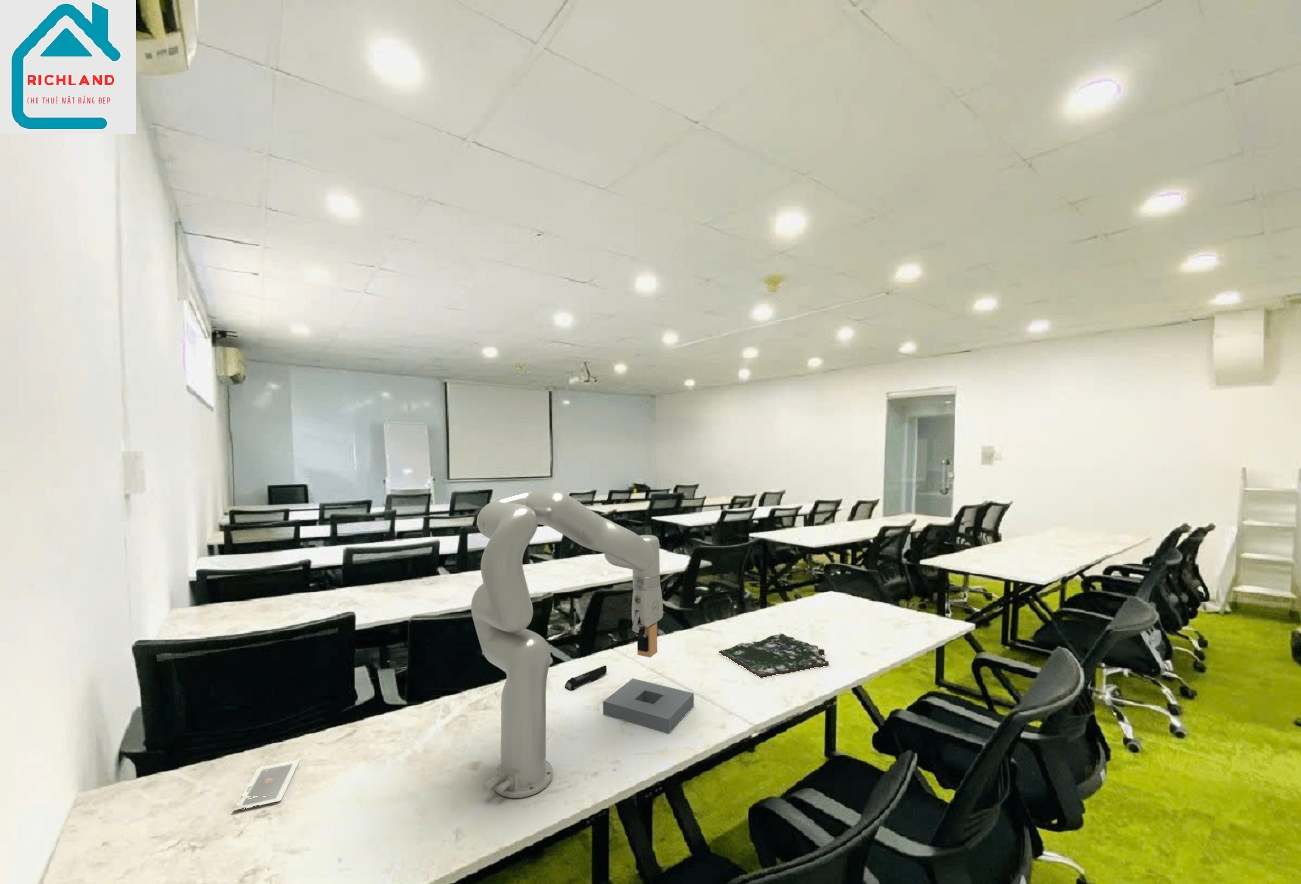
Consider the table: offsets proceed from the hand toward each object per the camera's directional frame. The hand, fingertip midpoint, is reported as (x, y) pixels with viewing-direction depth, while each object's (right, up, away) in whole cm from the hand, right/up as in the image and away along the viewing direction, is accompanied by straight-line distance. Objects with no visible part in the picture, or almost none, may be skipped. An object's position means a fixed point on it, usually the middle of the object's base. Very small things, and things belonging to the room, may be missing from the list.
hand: (647, 647), depth 135 cm
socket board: (+1, -18, +1) cm, 18 cm away
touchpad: (-81, -18, -30) cm, 88 cm away
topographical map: (+46, -20, +37) cm, 62 cm away
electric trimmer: (-19, -19, +19) cm, 33 cm away
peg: (0, -2, 0) cm, 2 cm away
